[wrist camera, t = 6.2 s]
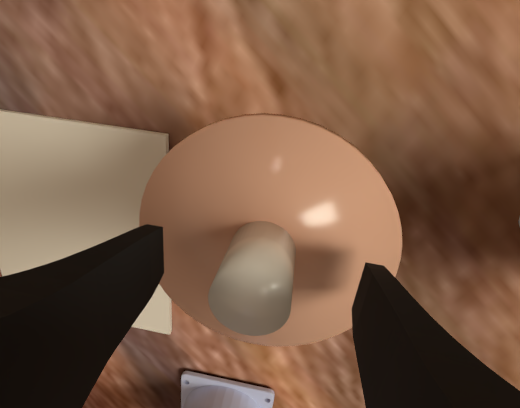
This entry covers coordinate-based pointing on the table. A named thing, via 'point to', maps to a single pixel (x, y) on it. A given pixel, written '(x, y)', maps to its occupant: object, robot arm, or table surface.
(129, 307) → the robot arm
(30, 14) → the table surface
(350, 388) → the table surface
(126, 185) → the mat
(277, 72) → the table surface
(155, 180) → the lid
